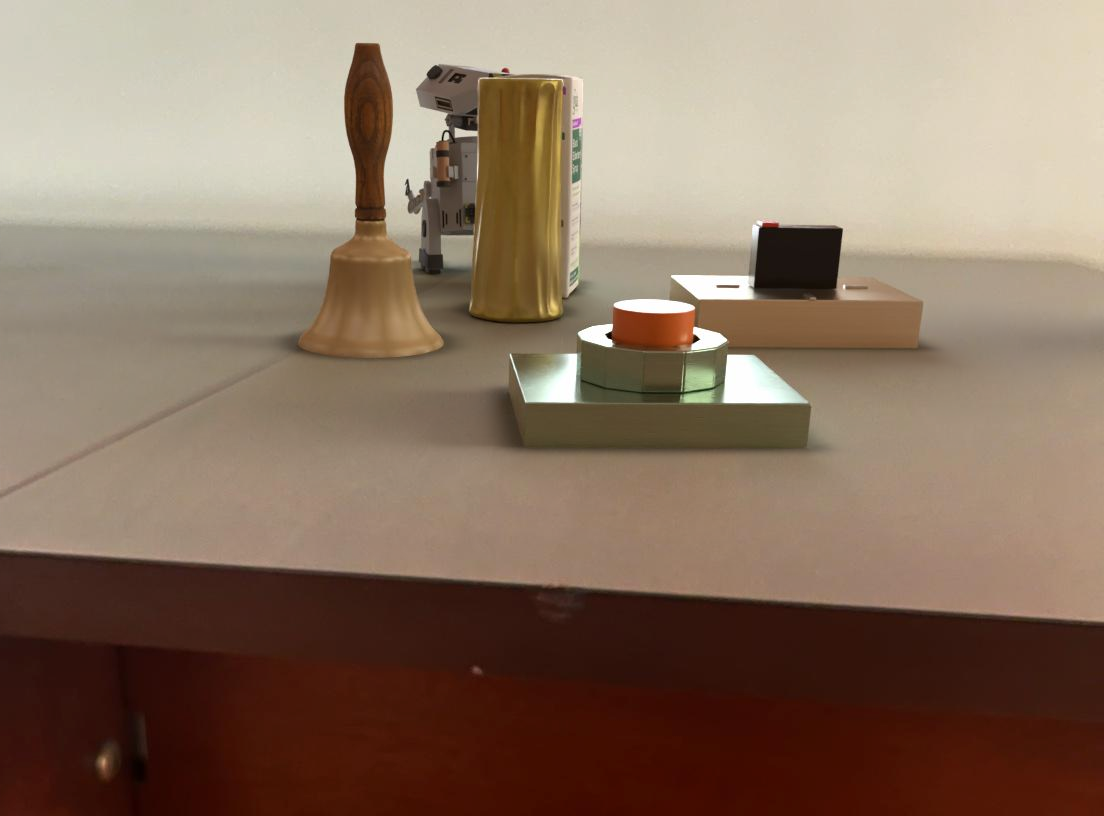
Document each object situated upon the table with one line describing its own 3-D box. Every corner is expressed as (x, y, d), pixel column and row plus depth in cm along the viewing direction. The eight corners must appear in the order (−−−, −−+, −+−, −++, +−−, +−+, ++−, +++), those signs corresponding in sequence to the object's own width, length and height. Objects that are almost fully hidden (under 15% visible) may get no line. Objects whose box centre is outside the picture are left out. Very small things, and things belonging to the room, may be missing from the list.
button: (684, 338, 61) (687, 299, 60) (699, 354, 57) (702, 313, 57) (606, 337, 60) (608, 298, 60) (617, 353, 57) (619, 312, 56)
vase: (494, 303, 90) (498, 77, 84) (578, 312, 87) (586, 79, 82) (452, 317, 84) (453, 77, 79) (539, 326, 82) (546, 79, 77)
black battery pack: (828, 284, 80) (835, 221, 79) (836, 289, 79) (843, 224, 77) (747, 284, 80) (753, 220, 78) (753, 288, 78) (759, 223, 77)
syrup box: (569, 298, 92) (577, 74, 87) (486, 294, 93) (489, 73, 88) (579, 286, 97) (588, 74, 92) (500, 282, 98) (504, 72, 93)
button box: (751, 399, 65) (758, 317, 64) (806, 454, 56) (816, 360, 54) (508, 398, 64) (510, 315, 63) (523, 454, 55) (526, 359, 54)
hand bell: (474, 349, 75) (478, 45, 69) (361, 370, 70) (354, 41, 64) (380, 328, 80) (375, 44, 74) (268, 346, 75) (253, 40, 69)
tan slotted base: (867, 324, 85) (873, 274, 84) (917, 353, 76) (925, 298, 75) (667, 322, 84) (670, 272, 83) (695, 352, 76) (700, 296, 74)
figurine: (510, 256, 112) (514, 65, 106) (544, 276, 102) (551, 66, 96) (404, 257, 110) (402, 63, 105) (428, 277, 100) (427, 63, 94)
